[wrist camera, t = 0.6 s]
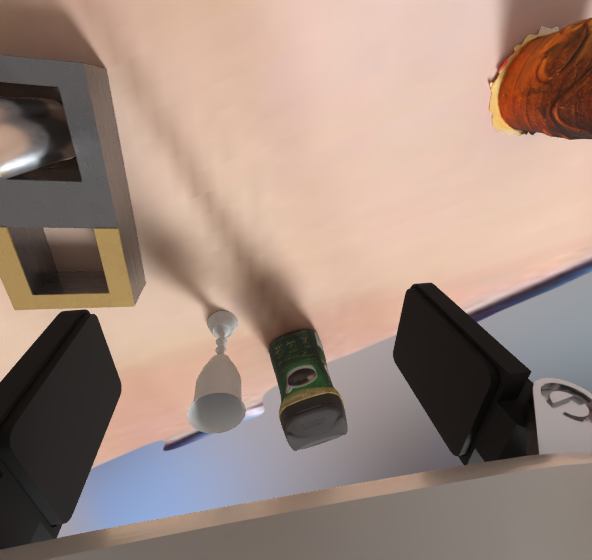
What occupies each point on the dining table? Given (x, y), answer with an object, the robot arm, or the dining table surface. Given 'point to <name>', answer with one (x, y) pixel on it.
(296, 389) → the coffee jar
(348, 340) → the dining table surface
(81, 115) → the dock
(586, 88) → the vessel
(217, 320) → the chalice
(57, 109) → the silver long cylinder
